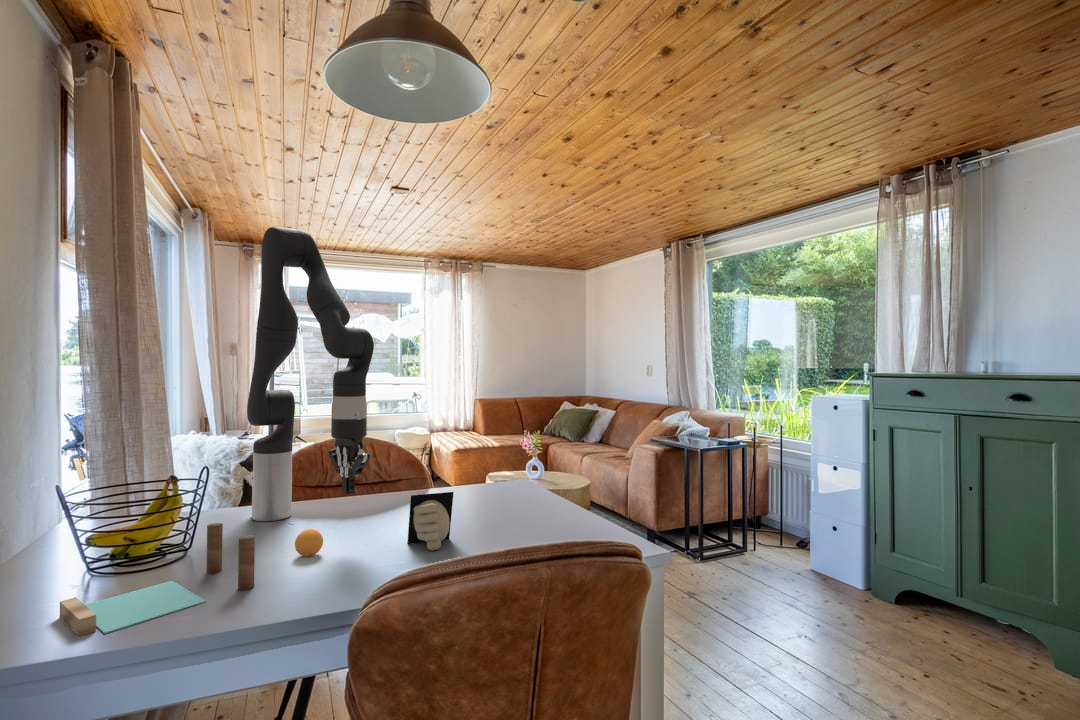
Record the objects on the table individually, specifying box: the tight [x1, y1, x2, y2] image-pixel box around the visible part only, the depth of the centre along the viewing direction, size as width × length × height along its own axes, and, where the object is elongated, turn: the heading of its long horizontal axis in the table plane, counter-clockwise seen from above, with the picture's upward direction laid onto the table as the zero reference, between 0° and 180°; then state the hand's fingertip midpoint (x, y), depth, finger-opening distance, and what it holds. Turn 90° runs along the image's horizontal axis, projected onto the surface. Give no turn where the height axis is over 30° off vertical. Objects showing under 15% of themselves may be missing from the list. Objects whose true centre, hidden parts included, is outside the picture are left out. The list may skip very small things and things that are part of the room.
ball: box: [294, 528, 324, 557], centre depth 116 cm, size 6×6×6 cm
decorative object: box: [407, 491, 455, 551], centre depth 123 cm, size 12×10×10 cm
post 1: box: [205, 522, 224, 575], centre depth 107 cm, size 3×3×9 cm
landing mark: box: [84, 580, 207, 635], centre depth 92 cm, size 14×14×1 cm
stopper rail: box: [59, 597, 97, 637], centre depth 85 cm, size 10×2×2 cm, turn 54°
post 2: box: [237, 535, 256, 592], centre depth 100 cm, size 3×3×9 cm
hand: (348, 493), depth 124 cm, fingers closed
